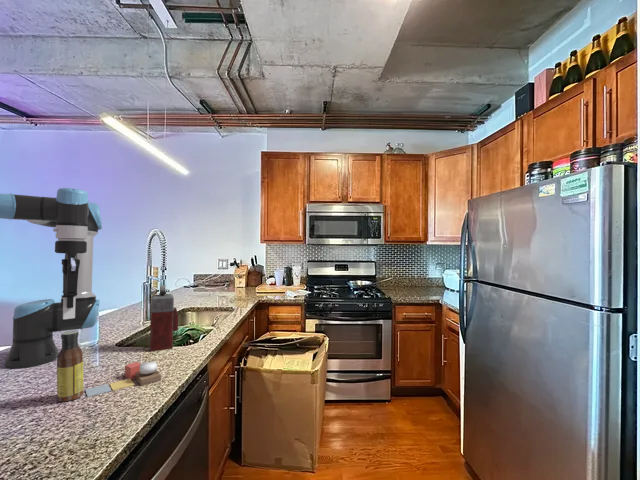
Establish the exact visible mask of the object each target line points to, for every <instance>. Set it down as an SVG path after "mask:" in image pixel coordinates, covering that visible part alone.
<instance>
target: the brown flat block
mask: <svg viewBox="0 0 640 480" xmlns="http://www.w3.org/2000/svg"><path fill="white" fill-rule="evenodd" d="M134 379H135V380H136V381H137V383H139V385H140V386H141V387H142V386H146V385H150V384H154V383H157V382H162V375H161V373H160V372H159V371H158V370H156V371H155V372H153V373H149V374H141V373H140V371H139V372H135V378H134Z"/></svg>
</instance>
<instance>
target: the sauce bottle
mask: <svg viewBox="0 0 640 480" xmlns="http://www.w3.org/2000/svg"><path fill="white" fill-rule="evenodd" d="M78 337H79V330H67V331H63V332H62V333H61V334H60V339H61V349H60V351H59V352H58V357H57V358H56V391H57V392H56V393H57V400H58V401H59V402H64V403H65V402H70V401H75V400H76V399H78V398H79V399H80V397H82V396H83V394H84V383H85V382H84V360H83V359H84V358H83V356H84V355H83V350H82V348H80V345H79V342H78Z"/></svg>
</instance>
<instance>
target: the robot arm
mask: <svg viewBox="0 0 640 480" xmlns="http://www.w3.org/2000/svg"><path fill="white" fill-rule="evenodd" d="M89 201H90V200H89V193H88V191H86V190H84V189H79V188H72V187H70V188H69V187H68V188H67V187H61V188H58V189H57V192H56V197H51V196H49V197H48V196H36V195H28V194H27V195H26V194H25V195H23V194H14V193H0V219H1V220H3V219H5V220H17V221H18V220H22V221H27V222H28V223H30V224H34V225H38V226H43V227H49V228H52V231H53V232H55V239H58V240H56V241H54V253H56V254H64V258H62V259H61V265H62V269H61V270H62V294H63V295H61V298H60V302H59V301H58V302H55V299H52V298H50V299H46V298H45V299H38V300H33V301H29V302H25V303H21V304H19V305H17V306H16V307H15V308H14V311H13V316H12V321H13V322H12V343H11V344H12V345H11V346H10V349H9V351H8V353H7V356H6V358H5V360H4V361H5V362H4V366H5V367H6V368H8V369H9V368H10V369H21V368H29V367H30V368H31V367H35V366H39V365H44V364H47V363H51V362H53V361H54V360H57V357H58V354H59V352H58V351H59V350H58V349H57V345H56V343H55V341H54V338H53V337H54V336H53V335H54V333H57V332H67V331H77V330H84V329H90V328H93V327H94V326H95V325H96V323H97V319H98V312H99V306H100V303H101V301H100V299H96V298H97V295H96V294H95V293H93V267H94V266H93V265H94V264H93V263H94V262H93V261H94V260H93V259H94V238H95V236H97V235H98V234H99V230H102V229H103V226H102V224H103V223H102V217H101V209H100V205H98V203H96V202H95V203H94V202H89Z"/></svg>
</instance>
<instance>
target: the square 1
mask: <svg viewBox="0 0 640 480" xmlns="http://www.w3.org/2000/svg"><path fill="white" fill-rule="evenodd" d="M84 391H85V394H86V397H87V398H90V397H94V396H98V395H102V394H106V393H109V392H112V388H111V386H110V384H108V383H106V384H102V385H98V386H93V387H90V388H86V389H85V390H84Z"/></svg>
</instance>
